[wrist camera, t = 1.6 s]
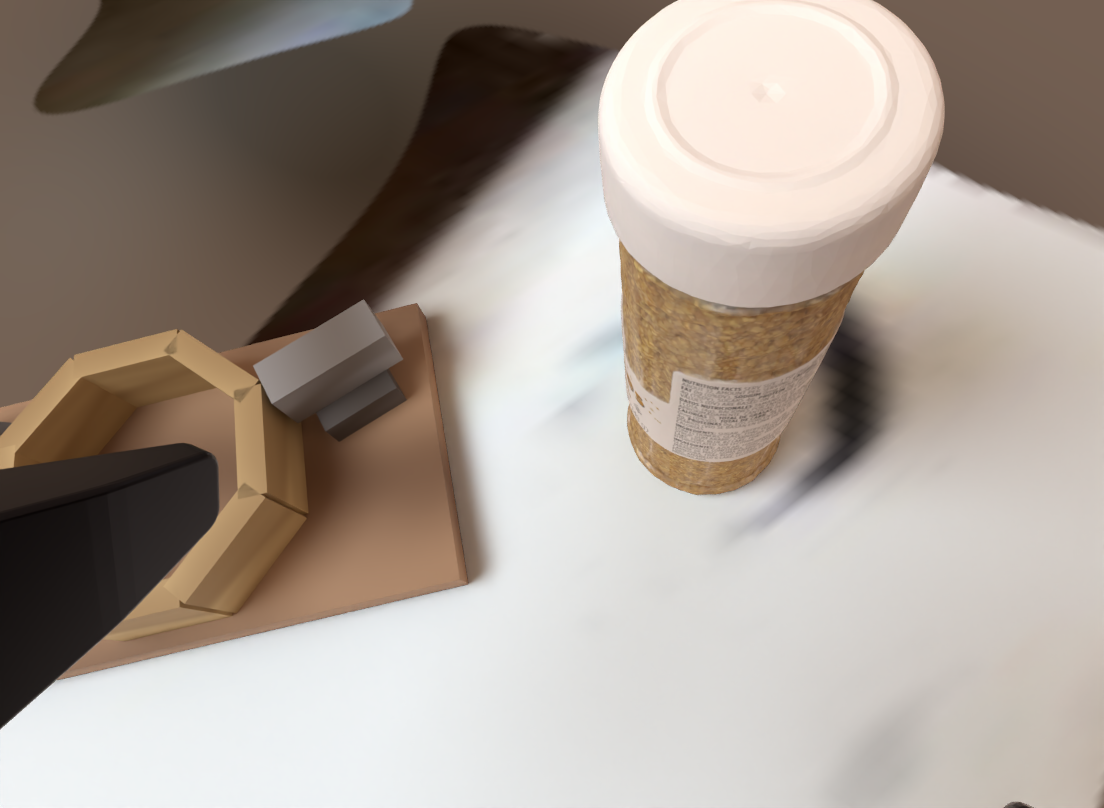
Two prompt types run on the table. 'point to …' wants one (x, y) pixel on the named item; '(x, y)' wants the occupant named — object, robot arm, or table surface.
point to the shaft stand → (270, 472)
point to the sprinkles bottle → (752, 210)
